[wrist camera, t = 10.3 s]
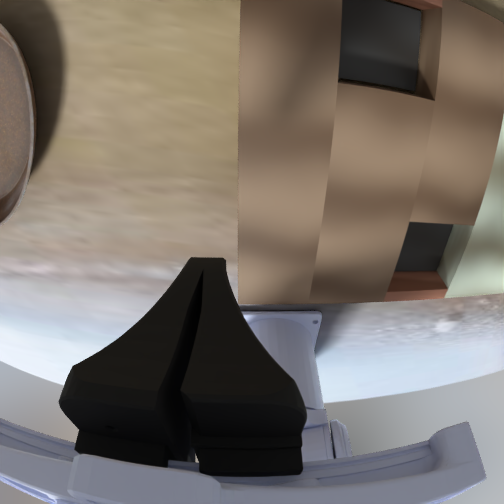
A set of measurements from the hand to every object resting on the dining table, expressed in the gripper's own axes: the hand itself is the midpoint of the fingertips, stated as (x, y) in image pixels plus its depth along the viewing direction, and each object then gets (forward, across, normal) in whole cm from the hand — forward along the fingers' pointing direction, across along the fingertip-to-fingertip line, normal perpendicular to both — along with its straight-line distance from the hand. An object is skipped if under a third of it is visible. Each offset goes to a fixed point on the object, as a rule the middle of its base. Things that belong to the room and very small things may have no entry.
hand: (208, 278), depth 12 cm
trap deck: (+9, -15, -3) cm, 18 cm away
